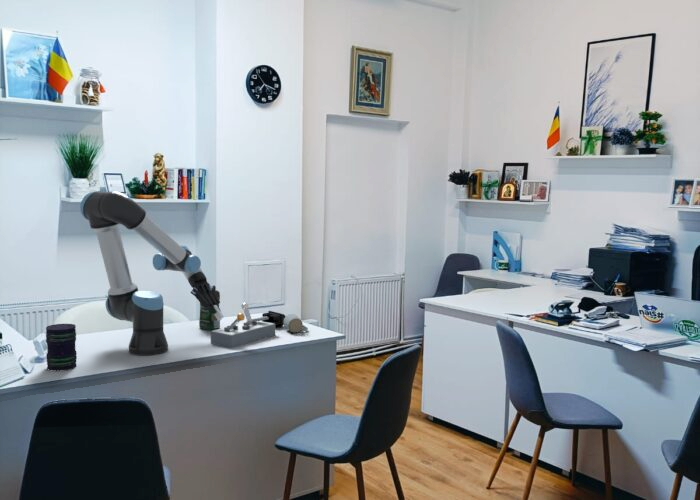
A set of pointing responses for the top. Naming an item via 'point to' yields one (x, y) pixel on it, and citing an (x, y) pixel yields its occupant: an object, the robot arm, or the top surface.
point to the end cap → (274, 318)
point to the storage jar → (61, 346)
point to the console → (242, 334)
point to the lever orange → (236, 321)
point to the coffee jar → (208, 318)
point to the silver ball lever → (247, 313)
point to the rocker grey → (261, 318)
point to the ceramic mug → (294, 323)
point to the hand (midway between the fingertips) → (220, 318)
